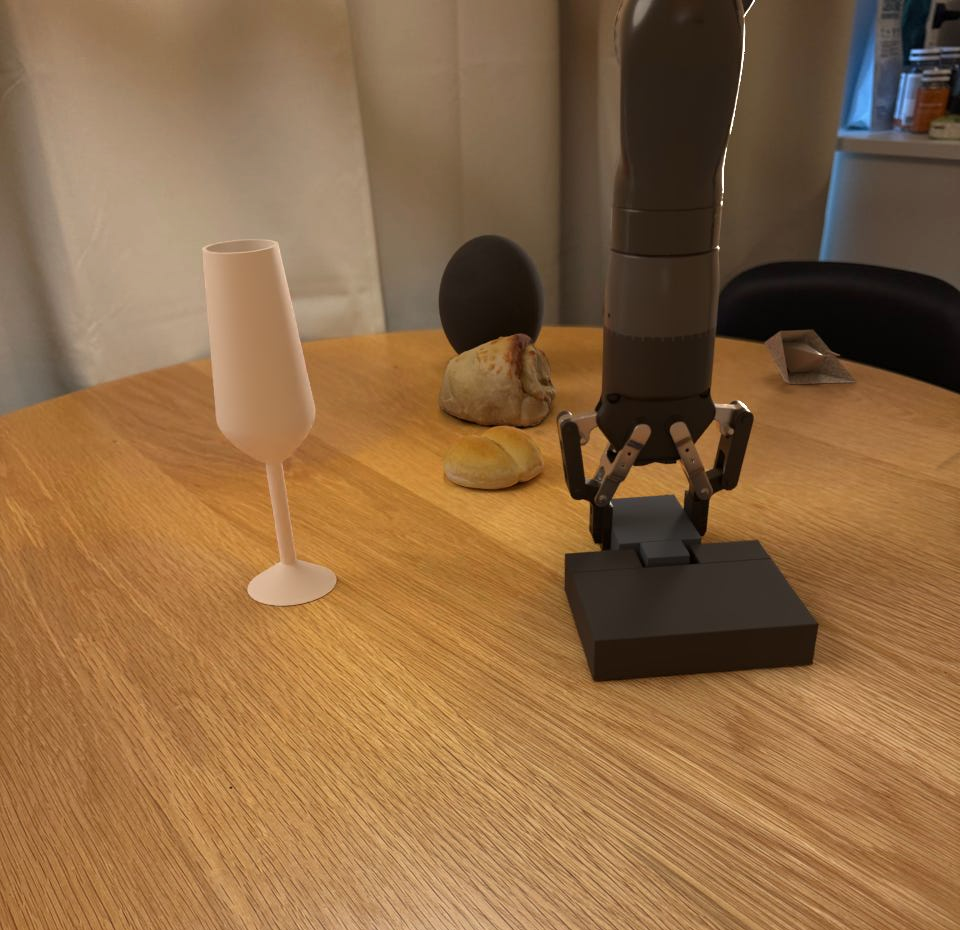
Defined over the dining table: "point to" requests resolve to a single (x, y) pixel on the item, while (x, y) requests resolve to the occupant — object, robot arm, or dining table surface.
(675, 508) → the pad
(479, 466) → the bread roll
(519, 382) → the pastry
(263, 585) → the champagne flute
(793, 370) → the paper boat
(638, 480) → the dining table surface
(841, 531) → the dining table surface
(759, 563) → the notch pad
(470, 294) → the decorative egg
